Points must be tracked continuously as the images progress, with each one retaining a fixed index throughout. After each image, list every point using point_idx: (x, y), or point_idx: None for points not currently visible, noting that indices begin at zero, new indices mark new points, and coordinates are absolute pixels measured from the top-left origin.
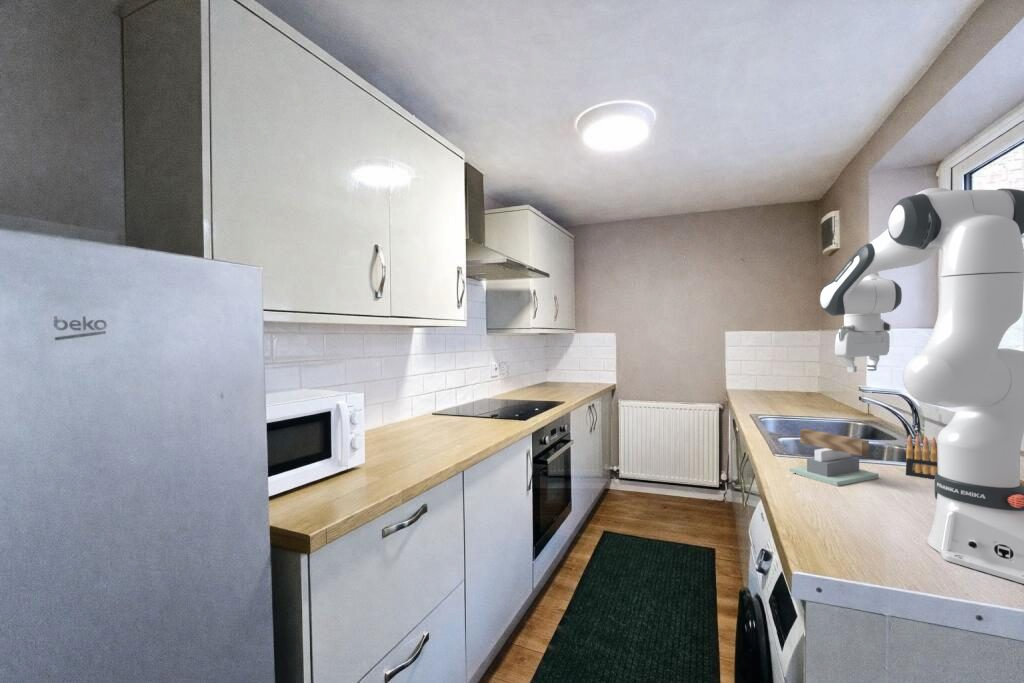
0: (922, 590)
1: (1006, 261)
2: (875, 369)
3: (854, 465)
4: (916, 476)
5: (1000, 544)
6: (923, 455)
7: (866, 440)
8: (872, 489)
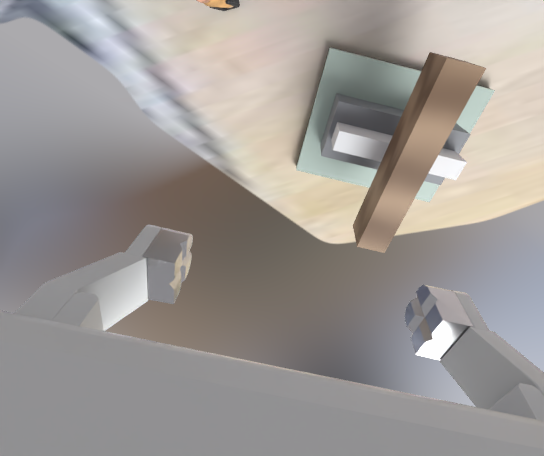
0: None
1: None
2: (163, 230)
3: (356, 101)
4: None
5: None
6: None
7: (447, 65)
8: (466, 14)
